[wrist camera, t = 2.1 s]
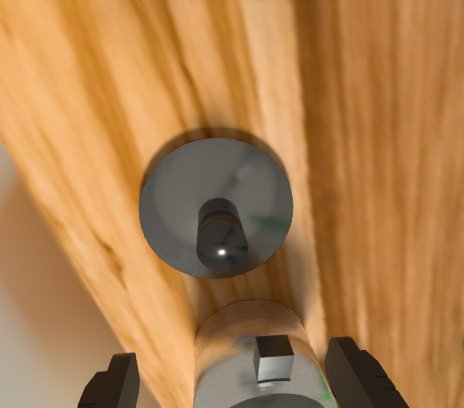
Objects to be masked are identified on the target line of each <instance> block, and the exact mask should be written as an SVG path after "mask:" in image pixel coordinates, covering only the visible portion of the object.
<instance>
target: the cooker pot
mask: <svg viewBox="0 0 464 408" xmlns="http://www.w3.org/2000/svg"><path fill="white" fill-rule="evenodd" d="M193 408H338V406H337V404H336V401H335V399H334V397H333V394H332V392H331V390H330V387H329V385H328V383H327V381H326V378H325V376H324V374H323V371H322V369H321V367H320V364H319V362H318V360H317V358H316V355H315V353H314V351H313V348H312V346H311V344H310V341H309V339H308V337H307V335H306V332H305V330H304V328H303V325H302V323H301V321H300V319H299V317H298V316H297V315H296V314H295V313H294V312H293V311H292V310H291V309H290V308H288V307H287V306H285V305H283V304H280V303H277V302H274V301H270V300H261V299H254V300H245V301H240V302H236V303H233V304H230V305H228V306H226V307H223V308H222V309H220V310H218V311H217V312H215V313H214V314H212V315H211V316H210V317H209V318H208V319H207V320H206V321H205V322H204V323H203V325H202V326H201V328H200V329H199V331H198V334H197V337H196V343H195V370H194V398H193Z"/></svg>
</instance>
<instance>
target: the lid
mask: <svg viewBox="0 0 464 408" xmlns="http://www.w3.org/2000/svg"><path fill="white" fill-rule="evenodd" d="M292 216H293V198H292V193H291V189H290V186H289V183H288V181H287V179H286V177H285V175H284V173H283V172H282V170H281V169H280V168H279V166H278V165H277V164H276V163H275V162H274V161H273V160H272V159H271V158H270V157H269V156H268V155H267V154H265V153H264V152H263V151H261V150H260V149H258V148H257V147H255V146H253V145H251V144H249V143H246V142H243V141H241V140H237V139H232V138H225V137H208V138H202V139H197V140H194V141H191V142H188V143H186V144H183V145H181V146H179V147H177V148H176V149H174V150H173V151H171V152H170V153H168V154H167V155H166V156H165V157H164V158H163V159H162V160H161V161H160V162H159V163H158V164H157V165H156V166H155V168H154V169H153V170H152V172H151V173H150V175H149V177H148V178H147V180H146V182H145V185H144V187H143V189H142V193H141V197H140V204H139V218H140V223H141V228H142V231H143V234H144V236H145V238H146V240H147V242H148V244H149V245H150V247H151V248H152V249H153V251H154V252H155V253H156V254H157V255H158V256H159V257H160V258H161V259H162V260H163V261H164V262H165V263H167V264H168V265H170V266H171V267H173V268H174V269H176V270H178V271H181V272H183V273H185V274H188V275H191V276H195V277H200V278H208V279H220V278H228V277H233V276H237V275H240V274H244V273H246V272H248V271H251V270H253V269H254V268H256V267H258V266H260V265H261V264H262V263H264V262H265V261H267V260H268V259H269V258H270V257H271V256H272V255H273V254H274V253H275V252H276V251H277V249H278V248H279V247H280V246H281V244H282V243H283V241H284V239H285V237H286V235H287V233H288V231H289V228H290V225H291V221H292Z"/></svg>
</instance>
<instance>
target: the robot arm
mask: <svg viewBox="0 0 464 408" xmlns="http://www.w3.org/2000/svg"><path fill="white" fill-rule="evenodd" d="M325 370H326V374H327V378H328V380H329V382H330V384H331V387H332V389H333V391H334V393H335V396H336V398H337V400H338V402H339V404H340V407H341V408H409V406H408V405H407V403H406V402H405V401H404V399H403V398H402V396H401V395H400V393H399V392H398V390H396V388H395V386H394V384H393V383H392V381H391V380H390V378H388V376H387V374H386V372H385V371H384V369H383V368H382V367H381V365H380V364H379V362H378V361H377V360H376V359H375V358H374V357H373V356H371V355H370V354H369V353H368V352H367V351H366V350H359V348H358V347H357V345H356V343H355V342H354V340H353V339H352V338H351V337H335V338H331V339H330V343H329V347H328V351H327V355H326V359H325ZM139 385H140V379H139V372H138V366H137V360H136V354H135V353H122V354H114V355H113V357H112V359H111V362H110V364H109V367H108V370H107V371H104V372H97V373H96V374H95V375H94V377H93V378H92V379H91V380H90V382H89V383H88V384H87V385H86V387H85V389H84V391H83V393H82V396H81V399H80V401H79V403H78V407H77V408H136V403H137V399H138V394H139Z"/></svg>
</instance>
